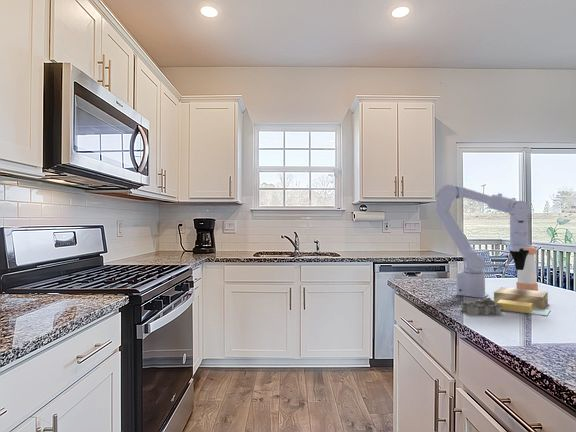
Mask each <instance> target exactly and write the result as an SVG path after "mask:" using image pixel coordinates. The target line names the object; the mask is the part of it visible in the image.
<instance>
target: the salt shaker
mask: <svg viewBox="0 0 576 432" xmlns="http://www.w3.org/2000/svg"><path fill="white" fill-rule="evenodd" d="M523 250H529V253H528V255H527V257H526V260H525V265H524V269H523V270H517V272H516V274H517V275H516V276H517V277H516V278H517V281H516V289H523V290H534V291H539V284H538V281H537V278H538V276H537V269H536V263H535V262H536V257H535V255H536V254H537V252H538V251H537V248H536V247H535V246H532V247H528V248H526V249H523Z"/></svg>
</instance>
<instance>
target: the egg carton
mask: <svg viewBox="0 0 576 432" xmlns="http://www.w3.org/2000/svg"><path fill="white" fill-rule="evenodd" d="M460 304H461V311H462V312H466V313H467V314H470V315H475V316H476V315H479V314H482V315H483V314H484V315H489V314H494V315H500V314H501V311H502V310H501V308H500V306H501V305H499V304H497V305H495V302H494V299H491V297H484V298H480V300H474V301H466V302H464V301H460ZM501 307H502V306H501Z"/></svg>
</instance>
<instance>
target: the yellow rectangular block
mask: <svg viewBox="0 0 576 432" xmlns="http://www.w3.org/2000/svg"><path fill="white" fill-rule="evenodd" d="M497 304H499V305H501V306H502V307H501V306H500V308H501V309H503V310H502V311H505V310H510V311H509V312H512V311H518V312H517V313H520V312H525V313H524V314H527V313H530V312H531V311H532V310H533V303H527V302H518V301H510V300H501V299H500V300H499V301H498V302H497Z"/></svg>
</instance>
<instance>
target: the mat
mask: <svg viewBox="0 0 576 432" xmlns="http://www.w3.org/2000/svg"><path fill="white" fill-rule="evenodd" d="M495 305H497V303H495ZM501 311H507V312H514V313H522V314H529V315H536V316H541V317H542V316H543V317H548V316H549V314H550V313H551V309H547V308H544V309H539V308H533V310H532V311H531V312H530V313H525V312H518V311H510V310H503V309H501Z"/></svg>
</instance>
